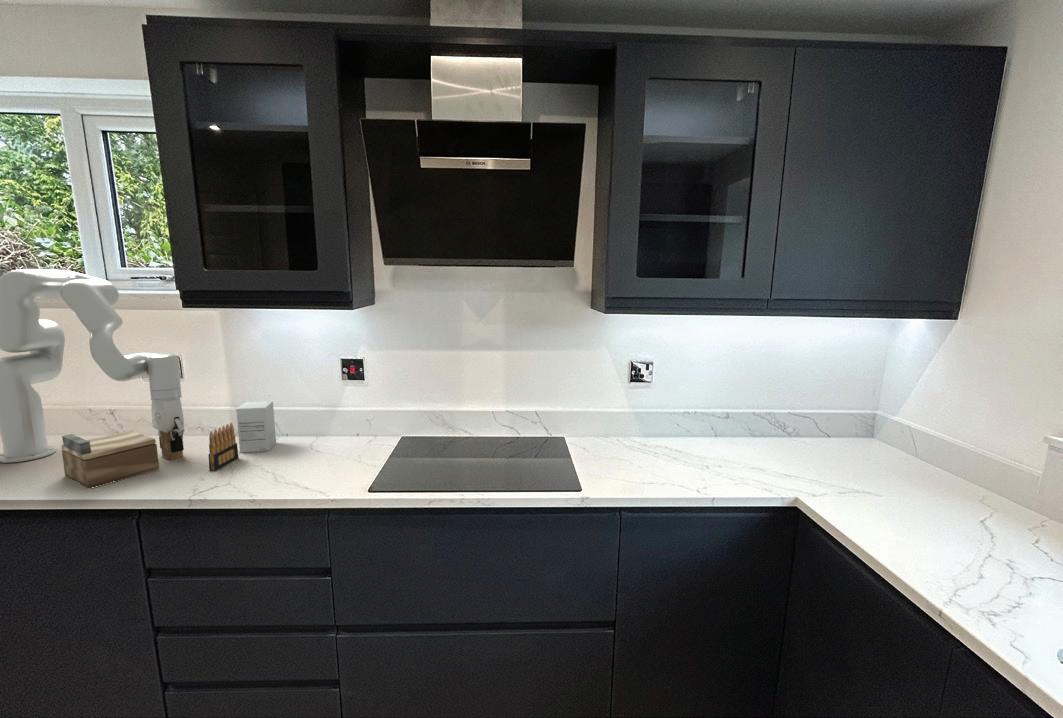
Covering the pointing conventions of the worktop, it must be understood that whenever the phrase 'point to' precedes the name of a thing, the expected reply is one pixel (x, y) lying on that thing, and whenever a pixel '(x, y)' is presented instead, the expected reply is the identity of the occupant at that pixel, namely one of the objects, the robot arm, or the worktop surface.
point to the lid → (104, 444)
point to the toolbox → (111, 466)
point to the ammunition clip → (222, 448)
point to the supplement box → (256, 426)
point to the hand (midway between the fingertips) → (171, 448)
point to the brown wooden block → (168, 446)
